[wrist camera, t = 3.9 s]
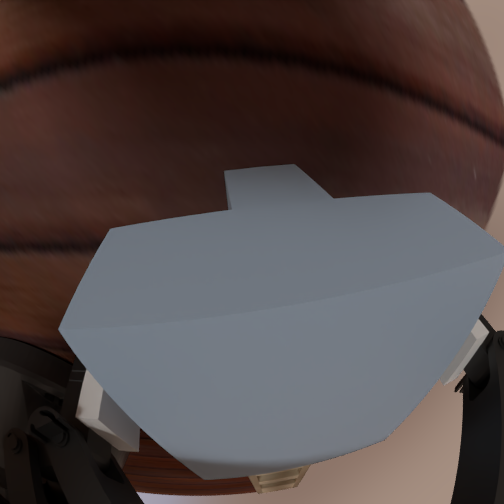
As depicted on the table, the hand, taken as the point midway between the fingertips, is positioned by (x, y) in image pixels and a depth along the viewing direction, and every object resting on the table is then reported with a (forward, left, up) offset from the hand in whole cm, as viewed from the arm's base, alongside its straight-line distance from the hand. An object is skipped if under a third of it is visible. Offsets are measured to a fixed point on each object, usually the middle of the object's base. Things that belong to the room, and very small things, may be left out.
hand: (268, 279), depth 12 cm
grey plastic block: (0, 0, 0) cm, 0 cm away
